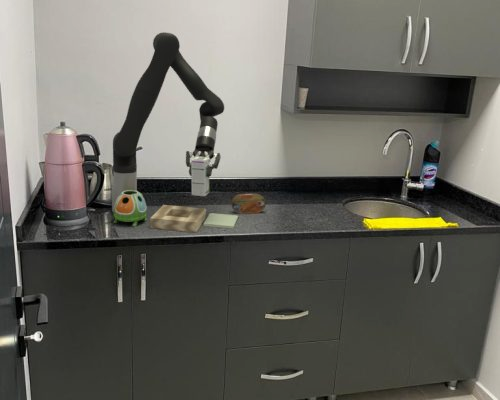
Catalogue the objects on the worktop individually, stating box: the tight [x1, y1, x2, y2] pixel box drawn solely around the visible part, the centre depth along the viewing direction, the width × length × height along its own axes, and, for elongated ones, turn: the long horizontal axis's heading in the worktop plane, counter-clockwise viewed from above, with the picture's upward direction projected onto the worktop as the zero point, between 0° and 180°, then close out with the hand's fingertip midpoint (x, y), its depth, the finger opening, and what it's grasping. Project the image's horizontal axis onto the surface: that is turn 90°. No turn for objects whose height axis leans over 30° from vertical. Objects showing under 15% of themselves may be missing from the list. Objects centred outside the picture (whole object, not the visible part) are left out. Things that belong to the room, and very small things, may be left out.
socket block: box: [149, 204, 207, 233], centre depth 199 cm, size 18×18×4 cm
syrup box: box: [190, 157, 210, 197], centre depth 197 cm, size 6×6×14 cm
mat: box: [202, 212, 239, 230], centre depth 204 cm, size 12×14×1 cm
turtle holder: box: [113, 190, 148, 227], centre depth 199 cm, size 12×18×12 cm
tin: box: [230, 193, 267, 215], centre depth 217 cm, size 15×3×8 cm, turn 105°
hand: (199, 175), depth 195 cm, fingers closed on syrup box, 6 cm apart
